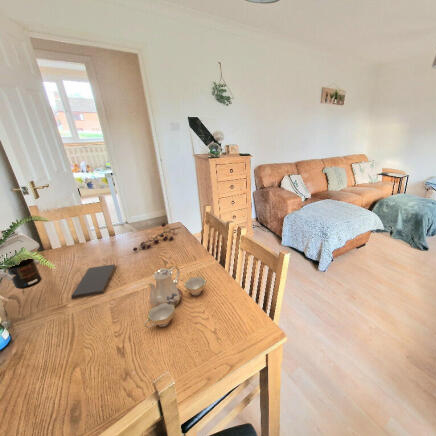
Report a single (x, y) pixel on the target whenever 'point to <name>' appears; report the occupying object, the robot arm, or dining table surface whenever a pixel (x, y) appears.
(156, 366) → the dining table surface
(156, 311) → the chinaware
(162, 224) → the decorative branch
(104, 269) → the slate plate
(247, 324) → the dining table surface
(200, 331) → the dining table surface
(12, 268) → the supplement container
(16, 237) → the robot arm
